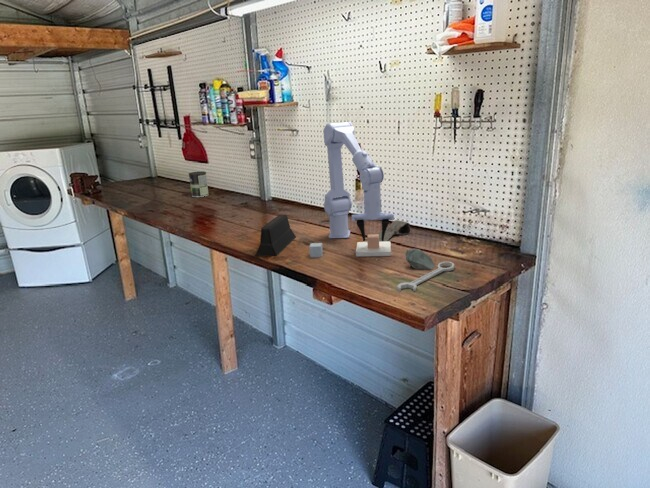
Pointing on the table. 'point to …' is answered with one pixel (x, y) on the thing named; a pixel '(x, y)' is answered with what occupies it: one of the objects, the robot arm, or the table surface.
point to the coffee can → (198, 184)
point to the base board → (364, 251)
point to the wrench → (426, 276)
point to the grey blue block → (316, 250)
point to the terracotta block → (373, 241)
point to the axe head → (395, 230)
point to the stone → (419, 259)
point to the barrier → (275, 236)
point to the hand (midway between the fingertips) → (373, 240)
